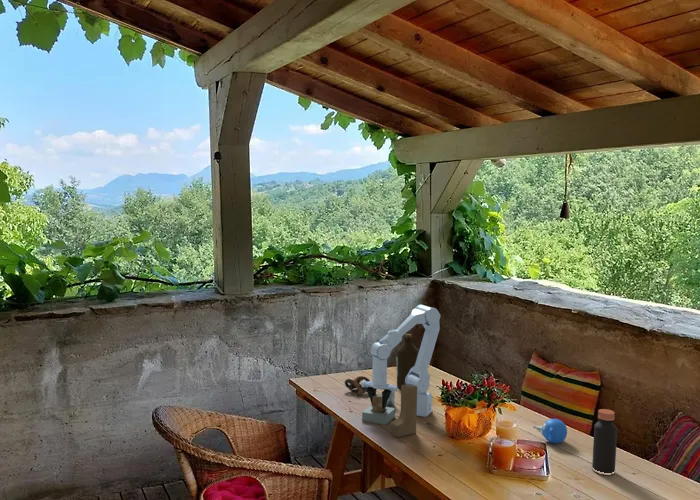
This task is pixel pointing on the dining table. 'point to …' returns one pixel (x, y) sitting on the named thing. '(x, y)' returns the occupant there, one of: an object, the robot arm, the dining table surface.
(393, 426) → the brown boot
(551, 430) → the blue rubber bulb blower
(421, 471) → the dining table surface
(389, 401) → the round peg
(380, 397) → the square peg
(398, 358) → the olive oil
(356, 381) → the pottery mug
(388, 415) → the socket block
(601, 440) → the bottle
